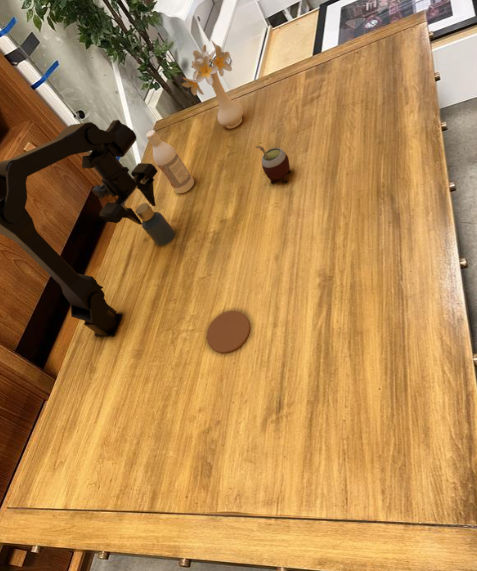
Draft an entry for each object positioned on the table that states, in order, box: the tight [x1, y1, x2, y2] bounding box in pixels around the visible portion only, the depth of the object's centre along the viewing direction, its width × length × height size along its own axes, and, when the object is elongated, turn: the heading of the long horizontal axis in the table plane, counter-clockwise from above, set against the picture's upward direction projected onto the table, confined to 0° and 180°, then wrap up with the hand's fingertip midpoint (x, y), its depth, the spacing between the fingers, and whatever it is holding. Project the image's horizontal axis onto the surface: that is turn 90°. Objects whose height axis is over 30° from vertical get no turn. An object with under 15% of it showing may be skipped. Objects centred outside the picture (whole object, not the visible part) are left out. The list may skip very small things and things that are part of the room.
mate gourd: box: [255, 145, 292, 185], centre depth 101 cm, size 8×8×15 cm
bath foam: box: [145, 129, 195, 194], centre depth 116 cm, size 7×7×20 cm
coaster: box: [206, 310, 251, 354], centre depth 84 cm, size 10×10×1 cm
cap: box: [134, 202, 155, 222], centre depth 105 cm, size 4×4×3 cm
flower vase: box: [181, 39, 244, 130], centre depth 124 cm, size 13×18×25 cm
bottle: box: [141, 211, 176, 247], centre depth 108 cm, size 6×6×11 cm
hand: (147, 214), depth 106 cm, fingers open, 6 cm apart
